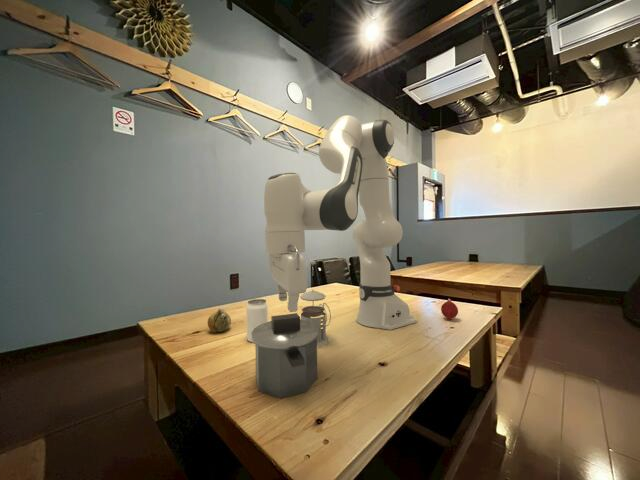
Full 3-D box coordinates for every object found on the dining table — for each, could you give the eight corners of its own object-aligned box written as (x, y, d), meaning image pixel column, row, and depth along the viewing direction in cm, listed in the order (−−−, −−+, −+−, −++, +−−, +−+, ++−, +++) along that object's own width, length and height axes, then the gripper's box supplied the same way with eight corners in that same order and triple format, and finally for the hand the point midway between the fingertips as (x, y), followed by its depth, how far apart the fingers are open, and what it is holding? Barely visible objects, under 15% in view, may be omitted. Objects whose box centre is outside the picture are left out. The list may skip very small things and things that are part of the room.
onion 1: (236, 327, 89) (236, 305, 89) (222, 336, 82) (222, 311, 81) (217, 325, 91) (217, 303, 91) (202, 334, 83) (202, 310, 83)
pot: (301, 353, 69) (301, 317, 69) (330, 399, 50) (329, 349, 49) (252, 362, 64) (252, 323, 64) (263, 416, 45) (262, 361, 45)
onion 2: (461, 322, 92) (461, 301, 92) (445, 322, 93) (445, 301, 92) (453, 317, 98) (453, 297, 98) (438, 317, 98) (438, 297, 98)
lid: (307, 320, 66) (307, 304, 66) (328, 343, 52) (328, 323, 52) (249, 328, 61) (248, 311, 61) (255, 355, 47) (255, 333, 47)
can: (262, 344, 75) (262, 304, 75) (243, 342, 76) (242, 303, 76) (271, 335, 82) (270, 299, 81) (252, 334, 83) (252, 298, 83)
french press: (314, 331, 85) (313, 258, 85) (339, 341, 77) (339, 260, 76) (291, 339, 78) (290, 260, 78) (316, 352, 70) (316, 263, 69)
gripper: (313, 245, 48) (315, 317, 48) (288, 243, 67) (290, 294, 67) (281, 247, 46) (283, 322, 46) (264, 244, 65) (266, 296, 65)
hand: (287, 305), depth 57 cm, fingers open, 8 cm apart
